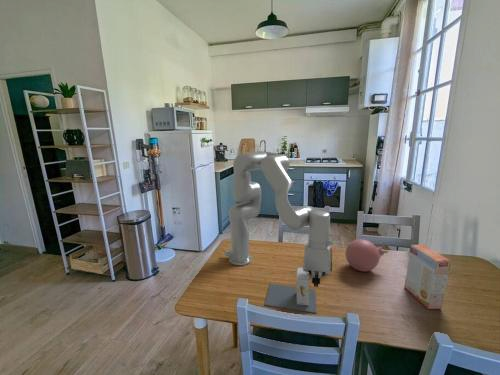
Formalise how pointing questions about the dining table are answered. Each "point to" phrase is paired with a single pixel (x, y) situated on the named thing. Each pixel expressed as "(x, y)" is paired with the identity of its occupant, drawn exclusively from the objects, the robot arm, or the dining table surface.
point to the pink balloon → (363, 255)
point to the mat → (289, 298)
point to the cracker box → (427, 276)
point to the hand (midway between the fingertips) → (315, 284)
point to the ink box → (302, 287)
